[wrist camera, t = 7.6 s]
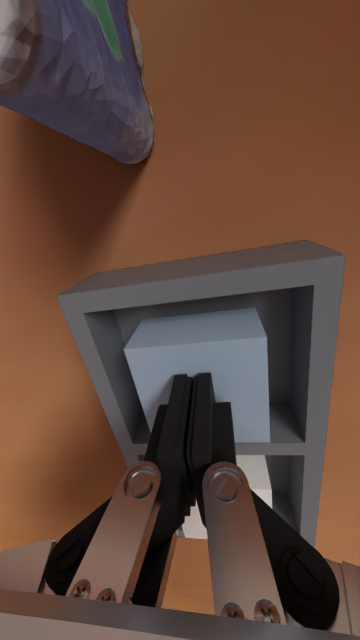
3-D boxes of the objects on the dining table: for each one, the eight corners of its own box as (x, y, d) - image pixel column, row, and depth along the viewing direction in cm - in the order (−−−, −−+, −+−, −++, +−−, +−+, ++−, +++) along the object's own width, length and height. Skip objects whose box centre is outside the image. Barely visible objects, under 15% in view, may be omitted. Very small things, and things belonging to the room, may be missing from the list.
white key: (262, 442, 16) (271, 489, 14) (265, 495, 19) (273, 543, 16) (175, 442, 17) (168, 486, 15) (189, 492, 20) (185, 537, 17)
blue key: (255, 307, 12) (266, 336, 9) (260, 398, 14) (270, 442, 12) (142, 319, 13) (123, 349, 10) (164, 401, 16) (153, 443, 13)
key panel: (307, 239, 12) (345, 254, 9) (297, 488, 21) (314, 546, 17) (94, 273, 15) (56, 295, 11) (165, 484, 23) (155, 535, 20)
